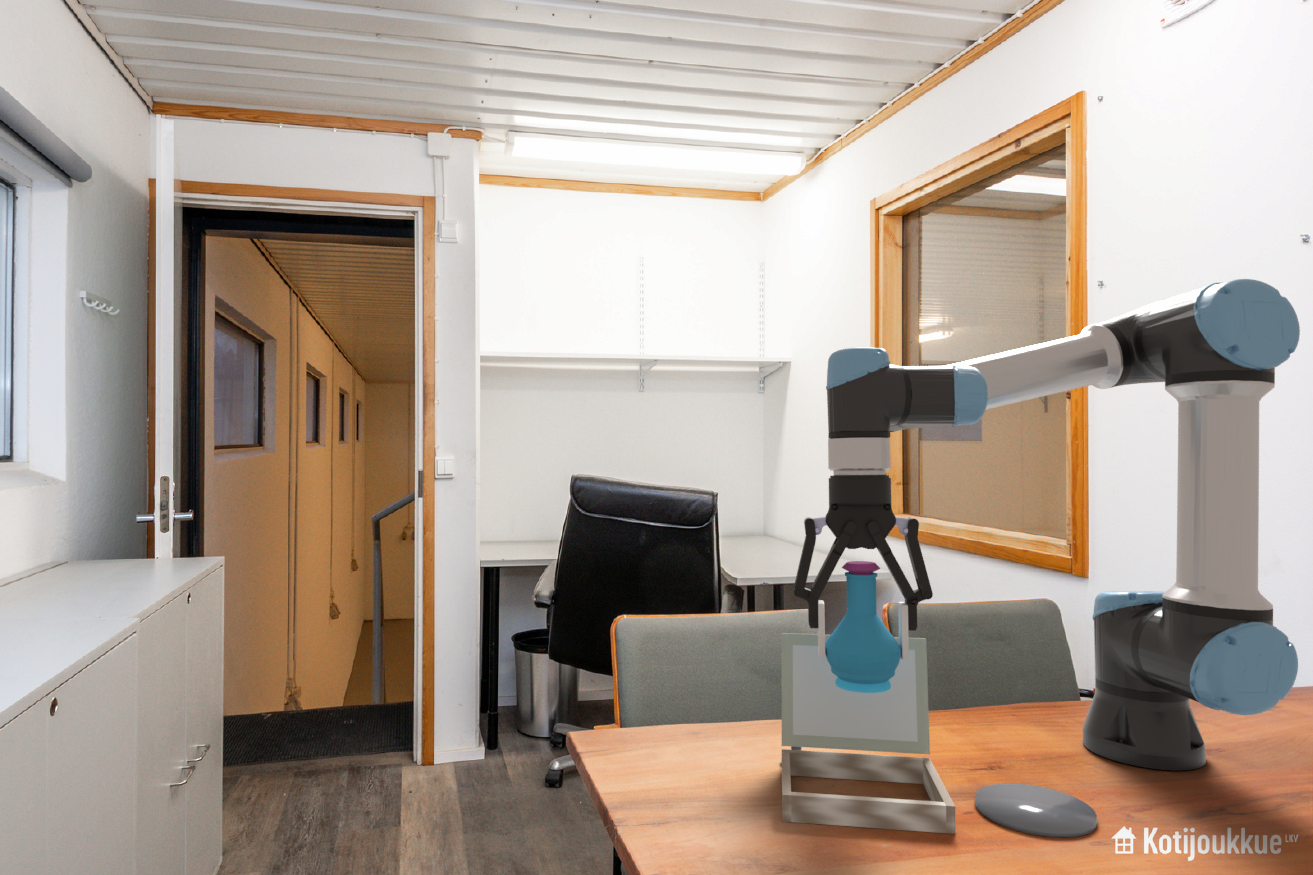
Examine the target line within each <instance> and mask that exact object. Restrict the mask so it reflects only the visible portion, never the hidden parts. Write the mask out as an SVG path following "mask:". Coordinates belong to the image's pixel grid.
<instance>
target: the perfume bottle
mask: <svg viewBox="0 0 1313 875" xmlns="http://www.w3.org/2000/svg"><path fill="white" fill-rule="evenodd" d="M841 568H842V569H843V570H845V571H846V572H844V576H845V577H846V614H844V616H843V617H842V619H841V621H840V622H839V624H838V625H837V626H836V627H835V629H834V630H833V632H831V634H829V635H830V637H829V638H828V640H827V641H826V643H825V654H826V657H827V660H828V662H829V664H830V666H831V671H832V673H834V674H835V675H836V676H837V679H836V681H835V684H836V686H837V687H839V688H841V689H844V690H848V691H853V692H861V693H878V692H884V691H888V690H889V689H891V683H890V681H889V679H890V678H892V677H893V676H894V675H895V670H896V668H897V666H898V664H899V661H900V658H901V647H900V645H899V644H898V643H897V641H896V640H895V638H894V637H895V636H893V634H892V633H891V632H890V631H889V629H888V628H887V626H886V625H885V624H884V622H883V621H882V619H881V618H880V617H879V615H878V614H877V609H878V608H877V577H878V573H877V571H879V570H881V567H880V566H879V565H878V564H877V563H876V562H873V561H864V560H852V561H847V562H845V563H844V564H843V566H842V567H841Z"/></svg>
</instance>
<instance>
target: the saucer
mask: <svg viewBox="0 0 1313 875" xmlns="http://www.w3.org/2000/svg"><path fill="white" fill-rule="evenodd" d="M974 805H975V808H976V809H977V811H978V813H980V814H982V816H984V817H986V818H987V819H989V820H990V821H992V822H994V823H996V824H998V825H1000V826H1002V827H1005V828H1008V829H1011V830H1015V831H1018V832H1020V833H1024V834H1025V833H1026V834H1030V835H1036V836H1042V837H1050V838H1074V837H1075V838H1076V837H1081V836H1086V835H1088V834H1090V833H1092V832H1093V831H1095V829H1097V826H1098V821H1097V820H1098V819H1097V817H1098V816H1097V813H1096V811H1095V809H1093V807H1092V806H1090V805H1089V804H1087V803H1086V802H1085V801H1083V800H1081V799H1079V798H1077V797H1076V796H1073V795H1071V794H1068V793H1065V792H1062V791H1059V790H1056V789H1052V788H1049V787H1044V786H1038V785H1033V784H1025V783H1017V782H1016V783H1012V782H1011V783H1009V782H1007V783H1006V782H1004V783H1002V782H1001V783H994V784H989V785H986V786H983V787H981V788H979V789H978V790H977V791H976V792H975V795H974Z"/></svg>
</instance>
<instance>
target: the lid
mask: <svg viewBox="0 0 1313 875" xmlns="http://www.w3.org/2000/svg"><path fill="white" fill-rule="evenodd" d="M830 635H831V634H825V643H826V641H827V640H828V638H829V637H830ZM893 637H894V638H895V640H896V641H897V643H898V644H899V636H898V637H896V636H893ZM927 653H928V652H927V638H926V637H925V638H924V637H909V660H903V659H902V658H900V661H899V664H898V666H897V668H896V670H895V675H894V676H893V677H892V678H890V679H889V681H890V683H891V689H889V690H888V691H884V692H878V693H861V692H853V691H848V690H844V689H841V688H839V687H837V686H836V684H835V681H836V679H837V676H836V675H835V674H834V673H832V671H831V666H830V664H829V662H828V660H827V657H826V654H825V657H819V655H818V633H814V634H813V633H793V632H792V633H790V632H789V633H787V632H781V746H782V747H791V746H794V747H801V748H811V749H812V748H813V749H831V750H833V749H834V750H849V751H864V752H865V751H866V752H880V753H882V752H883V753H899V754H912V755H913V754H918V755H931V747H930V741H931V740H930V717H929V713H930V711H929V688H928V687H929V686H928V683H929V682H928V679H929V678H928V657H927V655H928V654H927Z"/></svg>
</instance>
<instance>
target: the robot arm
mask: <svg viewBox="0 0 1313 875" xmlns="http://www.w3.org/2000/svg"><path fill="white" fill-rule="evenodd" d="M1300 332H1301V329H1300V322H1299V318H1298V315H1297V313H1296V310H1295V308H1294V307H1293V304H1292V303H1291V302H1290V300H1289V299H1288V298H1287V297H1286V296H1282V295H1281V293H1280V291H1279V290H1278V289H1277V288H1276V287H1274V286H1272V285H1270V284H1268V283H1266V282H1264V281H1260V280H1257V279H1251V278H1240V279H1232V280H1229V281H1225V282H1214V283H1211V284H1208V285H1207V286H1204V287H1202V288H1199V289H1195V290H1192V291H1189V292H1186V293H1182V294H1178V295H1176V296H1171V297H1168V298H1165V299H1162V300H1157V301H1155V302H1153V303H1150V304H1147V305H1144V306H1142V307H1139V308H1137V309H1135V310H1132V311H1129V312H1127V313H1125V314H1122V315H1120V316H1117V317H1114V318H1111V319H1109V320H1108V319H1107V320H1106V321H1102V322H1097V323H1093V324H1089V325H1087V326H1085V327H1084V328H1083V329H1082V330H1081V332H1080V333H1079V334H1077V335H1072V336H1067V337H1064V338H1058V339H1055V340H1054V339H1053V340H1051V341H1046V342H1042V343H1037V344H1033V345H1028V346H1025V347H1020V348H1015V349H1010V350H1007V351H1003V352H999V353H995V354H989V355H986V356H981V357H977V358H972V359H968V360H965V361H961V362H960V361H959V362H955V363H951V364H946V365H928V366H927V365H925V366H924V365H920V366H919V365H917V366H915V365H911V366H909V365H908V366H906V365H905V366H904V365H903V366H901V365H896V364H891V360H890V357H889V353H888V351H887V350H886V349H885V348H881V347H873V346H872V347H871V346H870V347H869V346H867V347H865V346H863V347H851V348H850V347H849V348H843V349H838V350H836V351H833V353H831V354H830V355H829V358H828V360H827V371H826V372H827V373H826V374H827V375H826V387H825V390H826V395H827V396H826V397H827V398H826V402H827V424H828V426H827V427H828V429H827V430H828V432H827V433H828V435H827V436H828V439H827V444H828V445H827V449H828V450H827V452H828V454H827V455H828V456H827V458H828V463H827V464H828V469H829V470H830V471H833V473H832V474H833V475H830V477H828V511H827V513H826V514H825V516H822V517H820V516H819V517H810V516H807V517H805V519H804V521H803V524H804V526H803V527H804V531H805V536H804V542H803V546H802V551H801V555H800V560H799V563H798V568H797V570H796V572H797V573H796V576H795V580H794V585H793V594H794V596H795V597H796V598H801V599H803V600H804V601H806V602H807V604H808V605H807V611H808V612H807V617H808V618H807V620H808V621H807V622H808V625H809V627H810V629H817V634H818V655H819V657H825V635H826V617H825V616H826V615H825V613H826V611H825V605H826V604H825V601H824V600H822V599H820V597H821V595H822V593H823V592H824V589H825V587H826V585H827V584H828V582H829V580H830V578H831V576H832V574H833V572H834V570H835V569H836V566H837V564H838V562H839V560H840V559H841V556H842V555H843V553H844V552H845V549H846V548H847V549H848V550H856V549H859V548H860V549H861V548H863V549H866V550H875V549H877V551H878V553H879V554H880V556H881V557H882V560H883V562H884V564H885V565H886V567H887V569H888V571H889V572H890V574H891V577H892V578H893V581H895V583H896V585H897V587H898V590H899V591H900V593H901V595H902V597H903V598H904V601H898V602H897V611H898V612H897V614H898V615H897V616H898V617H897V618H898V619H897V620H898V637H899V645H900V647H901V658H902V659H903V660H909V638H910V637H909V631H912V632H913V631H915V632H916V631H917V629H918V605H919V603H921V602H922V601H923V602H924V601H925V600H931V599H932V598H933V596H934V593H933V589H932V587H931V582H930V578H929V575H928V572H927V567H926V563H925V560H924V556H923V552H922V549H921V545H920V542H919V538H918V537H919V527H920V523H919V520H918V519H917V518H914V517H910V516H909V517H908V518H907V517H906V518H905V517H897V516H895V514H894V512H893V509H892V478H891V477H890V475H887V471H890V470H891V469H892V466H891V464H892V463H891V433H894V432H897V431H903V430H913V429H920V428H921V429H922V428H926V427H927V428H928V427H934V426H935V427H940V426H942V427H943V426H945V427H946V426H951V427H957V426H972V425H975V424H976V423H978V422H980V420H981V419H983V418H982V417H984V414H985V413H986V410H991V409H994V408H995V409H996V408H999V407H1003V406H1007V405H1012V404H1016V403H1020V402H1025V401H1029V400H1033V399H1037V398H1042V397H1047V396H1050V395H1055V394H1059V393H1064V392H1068V391H1072V390H1076V389H1080V388H1081V389H1082V388H1085V387H1089V386H1093V387H1095V388H1096V389H1100V390H1106V389H1111V388H1114V387H1121V386H1126V385H1135V384H1151V383H1164V390H1165V391H1166V392H1167V393H1168V394H1169V395H1171V396H1172V397H1173V398H1174V399H1175V400H1176V401H1177V404H1178V413H1177V415H1178V420H1177V422H1178V424H1177V428H1178V429H1177V430H1178V431H1177V488H1176V489H1177V492H1176V493H1177V494H1176V495H1177V496H1176V498H1177V501H1176V503H1177V506H1176V508H1177V510H1176V513H1177V514H1176V569H1175V570H1176V573H1175V574H1176V577H1175V579H1176V582H1175V583H1174V585H1172V586H1171V587H1170V588H1168V589H1167V590H1166V591H1151V590H1150V591H1146V590H1145V591H1143V590H1142V591H1137V590H1135V591H1133V590H1132V591H1126V590H1125V591H1124V590H1122V591H1121V590H1119V591H1114V590H1113V591H1102V592H1100V593H1099V594H1097V595H1096V597H1095V598H1094V606H1093V612H1092V614H1093V615H1092V620H1093V633H1094V634H1093V638H1094V676H1095V677H1094V678H1095V679H1094V680H1095V684H1094V695H1093V698H1092V700H1091V703H1090V706H1089V708H1088V712H1087V714H1086V716H1085V720H1084V723H1083V724H1082V744H1083V746H1084V747H1085V748H1087V749H1088V750H1089V751H1091V752H1092V753H1094V754H1096V755H1099V756H1100V757H1102V758H1103V757H1104V758H1106V759H1109V760H1111V761H1115V762H1119V763H1122V764H1126V765H1130V766H1135V767H1141V768H1145V769H1153V770H1155V769H1156V770H1161V771H1162V770H1163V771H1165V770H1166V771H1189V770H1190V771H1191V770H1196V769H1199V768H1202V767H1204V766H1205V765H1206V763H1207V762H1206V761H1207V757H1206V756H1207V754H1206V745H1205V741H1204V739H1203V736H1202V733H1201V730H1200V728H1199V726H1198V723H1197V720H1196V718H1195V715H1194V711H1193V710H1192V707H1191V702H1190V700H1192V701H1194V702H1196V703H1197V702H1198V703H1200V704H1201V705H1202V706H1203V707H1207V708H1209V709H1211V710H1215V711H1222V712H1226V713H1228V714H1232V715H1237V716H1254V715H1259V714H1262V713H1265V712H1267V711H1270V710H1271V709H1274V708H1275V707H1276V706H1277V705H1278V704H1279V701H1282V700H1284V699H1285V698H1286V697H1287V696H1289V695H1288V694H1290V692H1291V690H1292V688H1293V687H1294V684H1295V682H1296V680H1297V675H1298V671H1299V656H1298V654H1297V650H1296V648H1295V645H1294V643H1292V642H1291V641H1290V640H1289V637H1288V636H1287V635H1286V634H1285V633H1284V632H1283V631H1281V629H1278V628H1277V627H1276V626H1275V625H1274V605H1273V604H1272V603H1271V602H1270V601H1269V600H1268V599H1267V598H1266V597H1265V596H1263V595H1262V594H1261V593H1260V590H1259V517H1260V516H1259V515H1260V514H1259V512H1260V511H1259V509H1260V508H1259V507H1260V506H1259V503H1260V502H1259V501H1260V499H1259V494H1260V493H1259V492H1260V491H1259V489H1260V487H1259V486H1260V485H1259V484H1260V479H1259V478H1260V401H1261V400H1262V399H1263V398H1264V397H1265V396H1266V395H1267V394H1269V393H1270V392H1271V391H1272V390H1273V389H1274V388H1275V384H1276V382H1275V379H1276V378H1275V377H1276V376H1275V375H1276V372H1275V371H1276V368H1278V367H1279V366H1281V365H1282V364H1283V363H1285V362H1286V361H1288V360H1289V358H1290V357H1291V354H1292V353H1294V352H1295V351H1296V349H1297V347H1298V344H1299V341H1300V335H1301V333H1300ZM825 526H827V527H828V529H829V530H830V532H831V533H832V534H833V536H834V537H835V540H834V541H833V543H832V545H831V546H830V550H829V551H828V553H827V556H826V558H825V559H824V561H823V563H822V566H821V567H820V569H819V571H818V573H817V575H816V577H815V579H814V580H813V583H812V585H811V587H810V588H808V587H806V584H807V581H808V576H809V572H810V567H811V564H812V560H813V555H814V551H815V546H816V543H817V542H816V541H817V536H819V535H820V534H821V533H822V531H823V527H825ZM895 526H896V527H897V528H898V532H899V533H900V534H901V535H902V536H904V540H905V546H906V549H907V552H908V557H909V559H910V563H911V567H912V572H913V575H914V579H915V582H916V586H917V589H915V590H914V589H913V588H912V586H911V584H910V582H909V580H908V579H907V577H906V575H905V573H904V571H903V569H902V567H901V566H900V564H899V563H898V560H897V558H896V557H895V555H894V554H893V550H892V549H891V547H890V545H889V543H888V541H887V540H886V538H887V537H888V535H889V534H890V533H891V531H892V530H893V529H894V527H895Z"/></svg>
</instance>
